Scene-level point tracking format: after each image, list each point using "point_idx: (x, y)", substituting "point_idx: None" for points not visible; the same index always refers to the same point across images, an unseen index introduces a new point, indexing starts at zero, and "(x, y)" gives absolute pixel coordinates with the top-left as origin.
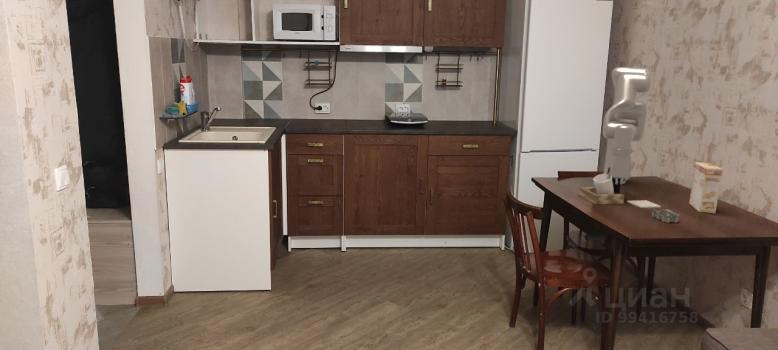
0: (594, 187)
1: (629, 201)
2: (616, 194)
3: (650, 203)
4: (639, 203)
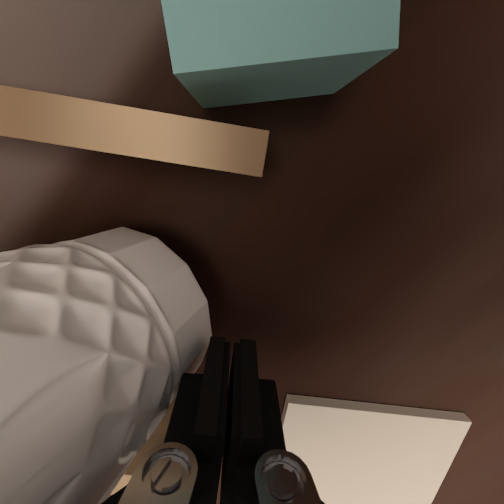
0: (34, 96)
1: (291, 421)
2: (127, 478)
3: (409, 488)
4: (323, 474)
